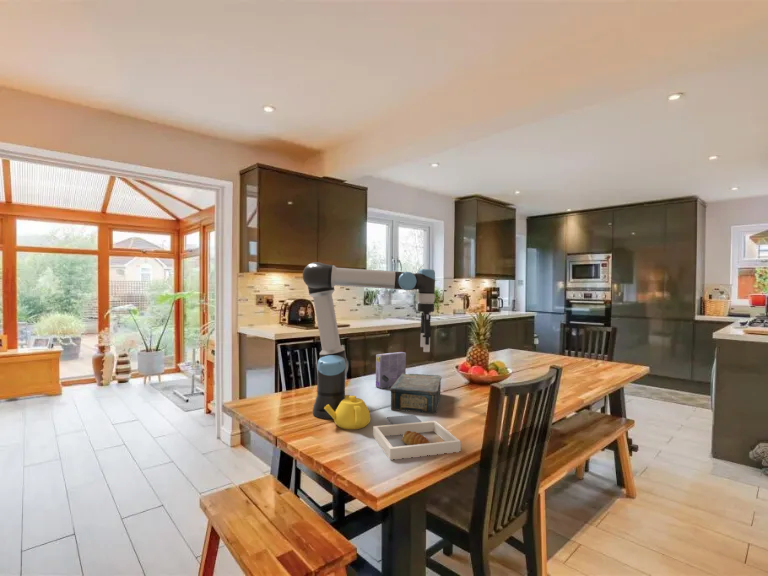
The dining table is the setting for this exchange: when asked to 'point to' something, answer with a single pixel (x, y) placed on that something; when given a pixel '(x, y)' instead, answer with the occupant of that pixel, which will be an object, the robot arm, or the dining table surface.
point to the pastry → (414, 438)
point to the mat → (403, 419)
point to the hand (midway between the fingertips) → (424, 349)
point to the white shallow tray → (420, 449)
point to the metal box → (416, 393)
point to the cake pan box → (389, 368)
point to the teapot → (350, 413)
